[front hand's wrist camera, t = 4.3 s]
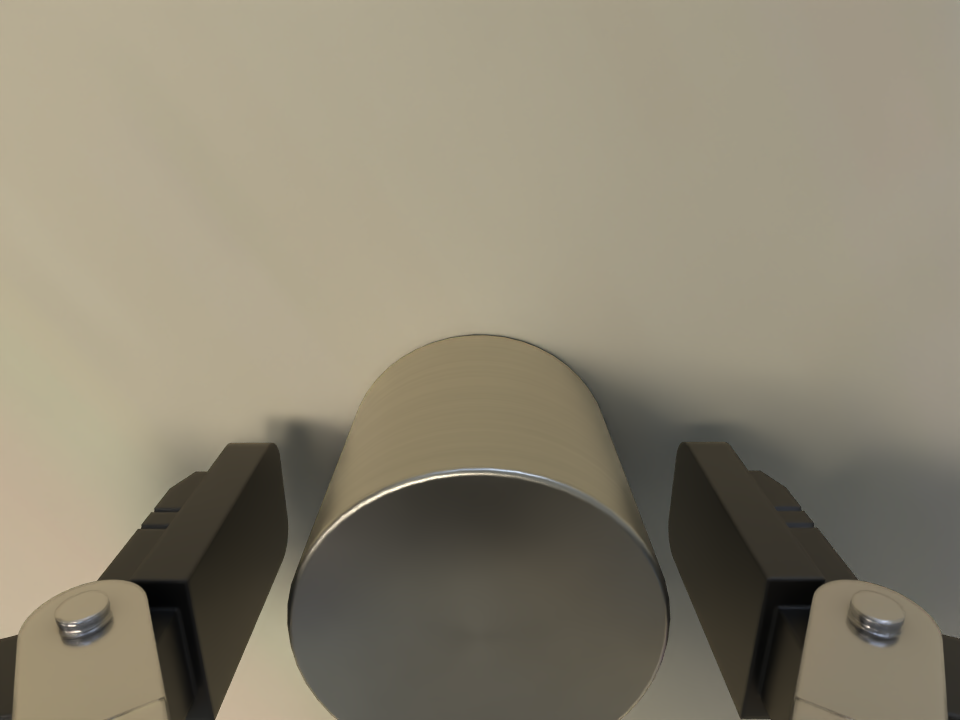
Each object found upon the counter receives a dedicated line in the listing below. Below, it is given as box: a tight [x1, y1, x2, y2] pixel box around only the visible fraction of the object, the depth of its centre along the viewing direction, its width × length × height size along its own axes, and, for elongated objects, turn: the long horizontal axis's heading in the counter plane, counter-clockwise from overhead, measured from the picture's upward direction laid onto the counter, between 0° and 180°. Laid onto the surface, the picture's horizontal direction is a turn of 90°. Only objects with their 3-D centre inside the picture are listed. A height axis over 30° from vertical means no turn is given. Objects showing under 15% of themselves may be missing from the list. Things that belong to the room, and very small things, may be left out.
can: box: [287, 335, 670, 720], centre depth 10 cm, size 5×5×4 cm
